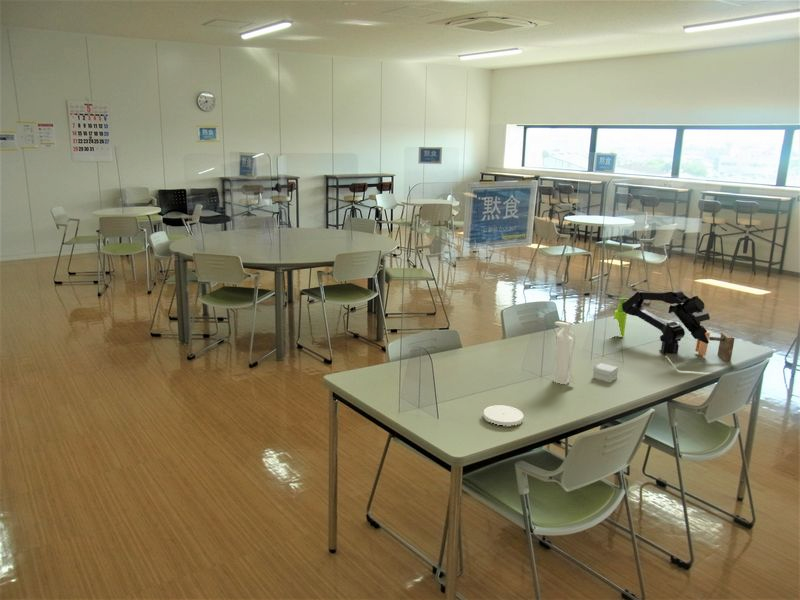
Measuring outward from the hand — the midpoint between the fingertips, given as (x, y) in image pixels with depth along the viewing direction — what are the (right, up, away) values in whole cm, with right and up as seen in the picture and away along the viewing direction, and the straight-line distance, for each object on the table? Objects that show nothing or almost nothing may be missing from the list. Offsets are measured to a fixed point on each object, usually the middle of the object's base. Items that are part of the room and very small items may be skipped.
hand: (706, 340), depth 287 cm
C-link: (-2, -6, +2) cm, 6 cm away
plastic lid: (-105, -24, -66) cm, 126 cm away
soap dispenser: (-30, 0, +31) cm, 43 cm away
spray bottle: (-75, -15, -31) cm, 82 cm away
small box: (-55, -14, -26) cm, 63 cm away
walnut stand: (+5, -9, 0) cm, 10 cm away
